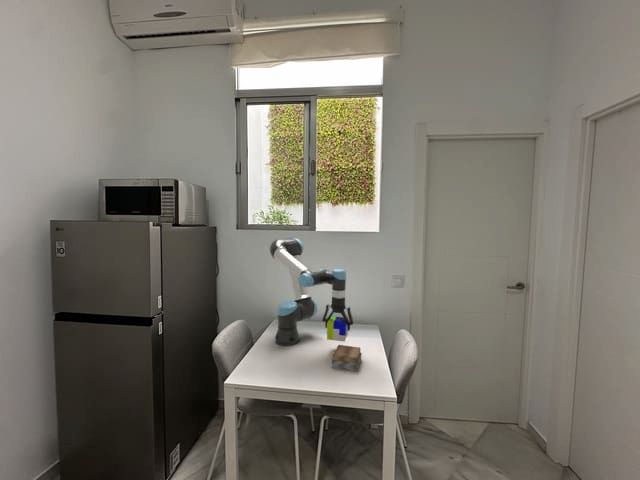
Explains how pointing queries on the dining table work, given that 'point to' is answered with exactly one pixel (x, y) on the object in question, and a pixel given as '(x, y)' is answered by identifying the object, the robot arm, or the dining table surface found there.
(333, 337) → the puzzle toy
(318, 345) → the dining table surface
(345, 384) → the dining table surface
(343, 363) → the plinth
